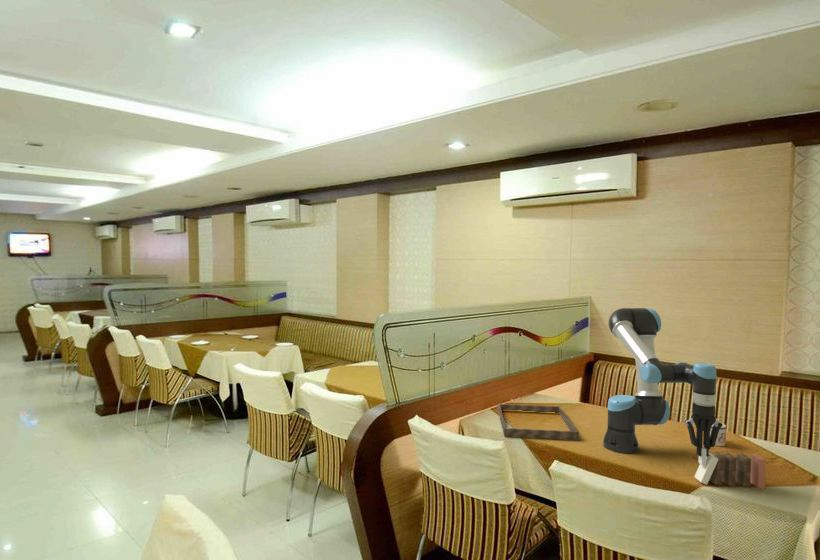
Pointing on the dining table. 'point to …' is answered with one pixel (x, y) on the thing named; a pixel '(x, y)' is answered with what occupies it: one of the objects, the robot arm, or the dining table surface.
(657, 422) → the robot arm
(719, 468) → the domino
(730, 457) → the domino
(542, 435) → the serving frame
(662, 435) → the dining table surface
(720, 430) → the teacup with lid
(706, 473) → the domino
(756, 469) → the domino
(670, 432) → the dining table surface
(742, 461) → the domino
